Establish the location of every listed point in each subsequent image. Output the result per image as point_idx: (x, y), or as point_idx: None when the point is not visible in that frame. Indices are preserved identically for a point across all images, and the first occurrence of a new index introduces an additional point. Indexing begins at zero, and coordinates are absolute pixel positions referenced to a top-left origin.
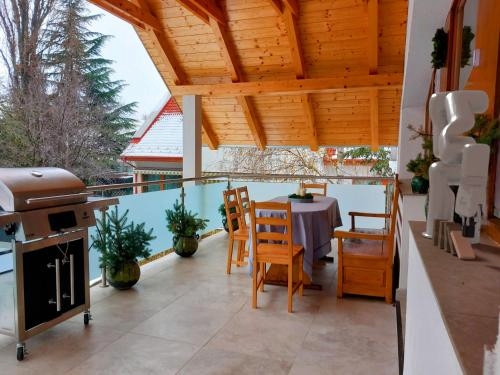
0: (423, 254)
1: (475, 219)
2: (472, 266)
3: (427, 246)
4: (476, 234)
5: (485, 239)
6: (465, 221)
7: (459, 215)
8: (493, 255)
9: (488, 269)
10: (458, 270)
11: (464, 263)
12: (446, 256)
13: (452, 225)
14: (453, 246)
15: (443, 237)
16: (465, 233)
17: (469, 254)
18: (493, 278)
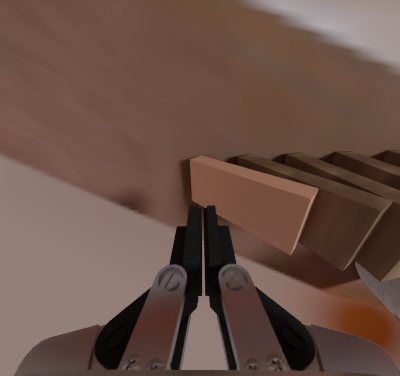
0: (254, 13)
1: (52, 367)
2: (118, 155)
3: (380, 113)
4: (380, 295)
5: None
6: (221, 299)
7: (380, 349)
8: (247, 255)
9: (103, 185)
10: (35, 73)
11: (146, 146)
12: (227, 123)
13: (386, 241)
14: (257, 168)
15: (369, 178)
16: (188, 221)
17: (197, 190)
18: (7, 154)
